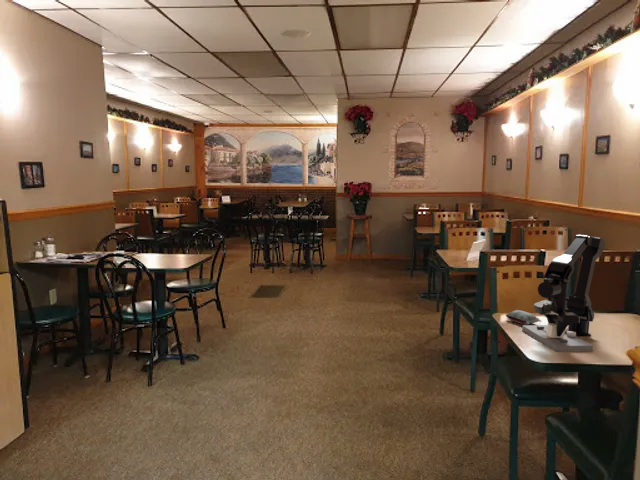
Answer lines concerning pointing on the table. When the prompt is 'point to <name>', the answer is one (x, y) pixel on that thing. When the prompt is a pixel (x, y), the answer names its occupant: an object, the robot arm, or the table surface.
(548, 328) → the block
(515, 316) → the packaged food
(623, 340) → the table surface
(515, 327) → the table surface
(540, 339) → the console
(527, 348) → the table surface
